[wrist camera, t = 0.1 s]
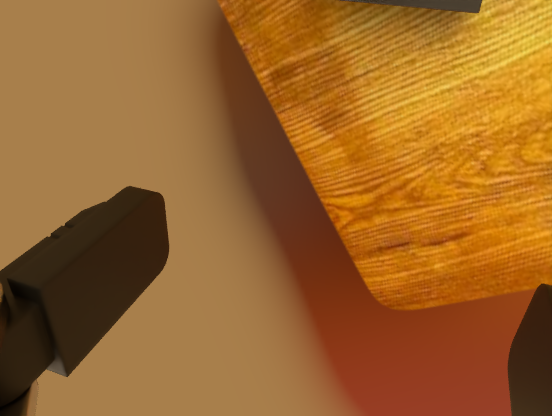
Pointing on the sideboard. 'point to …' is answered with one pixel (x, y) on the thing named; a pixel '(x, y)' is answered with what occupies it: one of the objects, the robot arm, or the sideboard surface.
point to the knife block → (432, 4)
